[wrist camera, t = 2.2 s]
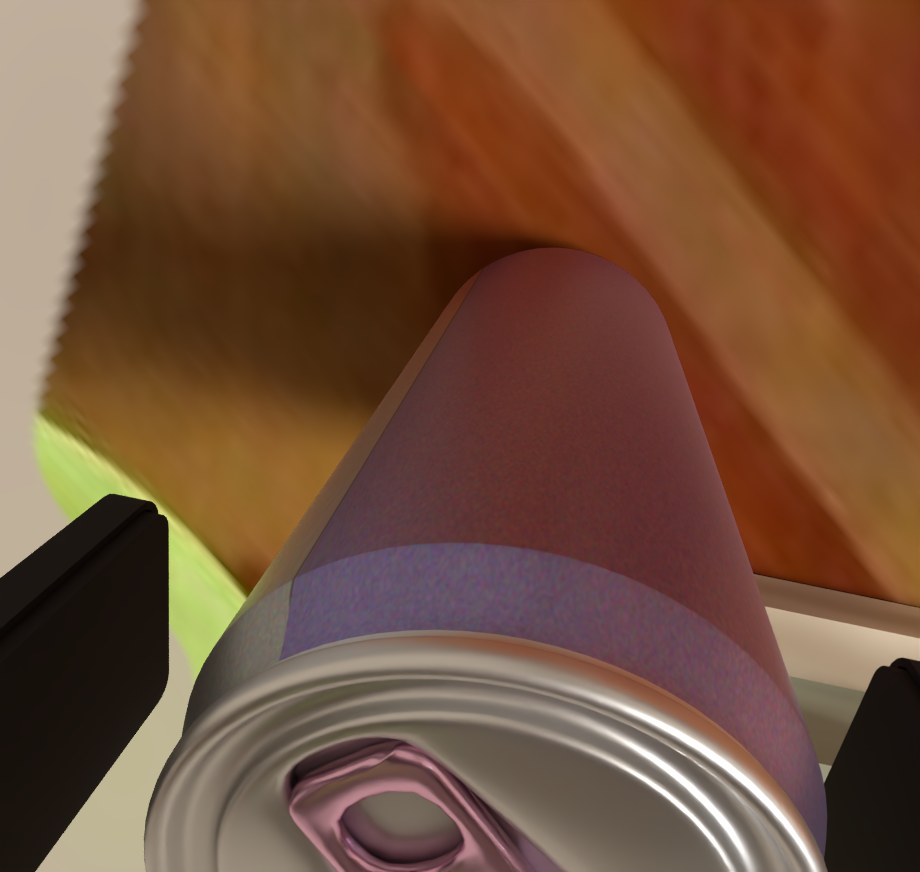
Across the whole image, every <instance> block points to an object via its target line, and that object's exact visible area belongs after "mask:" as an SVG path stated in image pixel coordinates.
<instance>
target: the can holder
mask: <svg viewBox="0 0 920 872" xmlns="http://www.w3.org/2000/svg"><path fill="white" fill-rule="evenodd" d="M754 577H755V580H756V583H757V586H758V588H759V591H760V594H761V597H762V600H763V603H764V606H765V609H766V612H767V614H768V617H769V620H770V623H771V626H772V629H773V632H774V635H775V637H776V640H777V643H778V646H779V649H780V652H781V655H782V658H783V661H784V663H785V666H786V669H787V672H788V675H789V678H790V681H791V684H792V687H793V689H794V692H795V695H796V698H797V701H798V704H799V707H800V710H801V712H802V715H803V718H804V721H805V724H806V727H807V730H808V733H809V736H810V738H811V741H812V744H813V747H814V750H815V753H816V756H817V759H818V763H819V766H820V769H821V773H822V777H823V782H825V780H826V778H827V776H828V773H829V771H830V769H831V767H832V765H833V762H834V760H835V758H836V756H837V754H838V751H839V749H840V747H841V745H842V743H843V740H844V738H845V736H846V734H847V732H848V729H849V727H850V725H851V723H852V721H853V718H854V716H855V714H856V712H857V710H858V707H859V705H860V703H861V701H862V699H863V697H864V694H865V692H866V690H867V688H868V686H869V683H870V681H871V679H872V677H873V675H874V673H875V671H876V670H877V669H878V668H879V667H880V666H890V665H891V663H892V662H893V661H895V660H896V659H897V658H902V657H903V658H908V659H913V660H917V661H920V608H917V607H912V606H908V605H903V604H898V603H893V602H888V601H883V600H878V599H873V598H869V597H864V596H859V595H854V594H849V593H844V592H839V591H834V590H830V589H825V588H820V587H815V586H810V585H805V584H800V583H795V582H791V581H786V580H781V579H776V578H771V577H766V576H761V575H756V574H754Z"/></svg>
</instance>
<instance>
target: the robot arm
mask: <svg viewBox="0 0 920 872" xmlns="http://www.w3.org/2000/svg"><path fill="white" fill-rule="evenodd" d="M168 675H169V527H168V520H167V518H166V517H165V516H164V515H160V514H158V510H157V507H156V505H155V504H154V503H153V502H151V501H146V500H141V499H136V498H131V497H126V496H122V495H117V494H108V495H107V496H105V497H103V498H102V499H101V500H99V501H98V502H97V503H95V504H94V505H93V506H92V507H90V508H89V509H88V510H87V511H85V512H84V513H83V514H81V515H80V516H79V517H78V518H76V519H75V520H74V521H73V522H71V523H70V524H69V525H67V526H66V527H65V528H64V529H63V530H61V531H60V532H59V533H57V534H56V535H55V536H53V537H52V538H51V539H50V540H48V541H47V542H46V543H44V544H43V545H42V546H41V547H39V548H38V549H37V550H36V551H34V552H33V553H32V554H31V555H29V556H28V557H27V558H25V559H24V560H23V561H22V562H20V563H19V564H18V565H16V566H15V567H14V568H13V569H11V570H10V571H9V572H8V573H6V574H5V575H4V576H2V577H1V578H0V872H35V871H36V870H37V868H38V867H39V866H40V864H41V863H42V862H43V860H44V859H45V857H46V856H47V855H48V853H49V852H50V850H51V849H52V848H53V846H54V845H55V844H56V842H57V841H58V840H59V838H60V837H61V835H62V834H63V833H64V831H65V830H66V829H67V827H68V826H69V824H70V823H71V822H72V820H73V819H74V818H75V816H76V815H77V813H78V812H79V810H80V809H81V808H82V807H83V805H84V804H85V802H86V801H87V800H88V798H89V797H90V795H91V794H92V793H93V791H94V790H95V789H96V787H97V786H98V785H99V783H100V782H101V780H102V779H103V778H104V776H105V775H106V773H107V772H108V771H109V770H110V768H111V767H112V765H113V764H114V762H115V761H116V760H117V759H118V757H119V756H120V754H121V753H122V752H123V750H124V749H125V747H126V746H127V745H128V743H129V742H130V740H131V739H132V738H133V737H134V735H135V734H136V732H137V731H138V730H139V728H140V727H141V726H142V724H143V723H144V721H145V720H146V719H147V717H148V716H149V715H150V713H151V712H152V710H153V709H154V708H155V706H156V705H157V704H158V702H159V700H160V699H161V697H162V695H163V693H164V691H165V688H166V685H167V681H168ZM824 788H825V793H826V805H827V832H826V845H825V855H824V862H825V865H826V868H827V871H828V872H920V661H917V660H913V659H908V658H903V657H902V658H897V659H896V660H895V661H893V662H892V663H891V665H890V666H880V667H879V668H878V669H877V670H876V671H875V673H874V675H873V677H872V679H871V681H870V683H869V686H868V688H867V690H866V692H865V694H864V697H863V699H862V701H861V703H860V705H859V707H858V710H857V712H856V714H855V716H854V718H853V721H852V723H851V725H850V727H849V729H848V732H847V734H846V736H845V738H844V740H843V743H842V745H841V747H840V749H839V751H838V754H837V756H836V758H835V760H834V762H833V765H832V767H831V769H830V771H829V773H828V776H827V778H826V780H825V782H824Z"/></svg>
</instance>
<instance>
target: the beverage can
mask: <svg viewBox="0 0 920 872" xmlns="http://www.w3.org/2000/svg"><path fill="white" fill-rule="evenodd" d="M826 832H827V805H826V793H825V788H824V782H823V777H822V773H821V769H820V766H819V763H818V759H817V756H816V753H815V750H814V747H813V744H812V741H811V738H810V736H809V733H808V730H807V727H806V724H805V721H804V718H803V715H802V712H801V710H800V707H799V704H798V701H797V698H796V695H795V692H794V689H793V687H792V684H791V681H790V678H789V675H788V672H787V669H786V666H785V663H784V661H783V658H782V655H781V652H780V649H779V646H778V643H777V640H776V637H775V635H774V632H773V629H772V626H771V623H770V620H769V617H768V614H767V612H766V609H765V606H764V603H763V600H762V597H761V594H760V591H759V588H758V586H757V583H756V580H755V577H754V574H753V571H752V568H751V565H750V563H749V560H748V557H747V554H746V551H745V548H744V545H743V542H742V539H741V537H740V534H739V531H738V528H737V525H736V522H735V519H734V516H733V513H732V511H731V508H730V505H729V502H728V499H727V496H726V493H725V490H724V488H723V485H722V482H721V479H720V476H719V473H718V470H717V467H716V464H715V462H714V459H713V456H712V453H711V450H710V447H709V444H708V441H707V438H706V436H705V433H704V430H703V427H702V424H701V421H700V418H699V415H698V413H697V410H696V407H695V404H694V401H693V398H692V395H691V392H690V389H689V387H688V384H687V381H686V378H685V375H684V372H683V369H682V366H681V363H680V361H679V358H678V355H677V352H676V349H675V346H674V343H673V340H672V338H671V335H670V332H669V329H668V326H667V324H666V321H665V319H664V316H663V314H662V312H661V310H660V309H659V307H658V305H657V304H656V302H655V300H654V299H653V298H652V296H651V295H650V294H649V292H648V291H647V290H646V289H645V288H644V287H643V286H642V285H641V284H640V283H639V282H638V281H637V280H636V279H635V278H634V277H633V276H632V275H630V274H629V273H628V272H626V271H625V270H624V269H622V268H621V267H619V266H617V265H616V264H614V263H612V262H610V261H608V260H606V259H604V258H602V257H599V256H596V255H594V254H591V253H587V252H584V251H580V250H574V249H568V248H537V249H530V250H525V251H521V252H517V253H514V254H511V255H508V256H506V257H503V258H501V259H499V260H497V261H494V262H493V263H491V264H489V265H487V266H486V267H484V268H483V269H481V270H480V271H478V272H477V273H476V274H475V275H473V276H472V277H471V278H470V279H469V280H468V281H467V282H466V283H464V284H463V286H462V287H461V288H460V289H459V290H458V291H457V292H456V294H455V295H454V296H453V298H452V299H451V300H450V302H449V303H448V305H447V306H446V308H445V309H444V311H443V312H442V314H441V315H440V316H439V318H438V319H437V321H436V322H435V324H434V325H433V327H432V328H431V330H430V331H429V333H428V334H427V336H426V337H425V338H424V340H423V341H422V343H421V344H420V346H419V347H418V349H417V350H416V352H415V353H414V355H413V356H412V358H411V359H410V360H409V362H408V363H407V365H406V366H405V368H404V369H403V371H402V372H401V374H400V375H399V377H398V378H397V380H396V381H395V382H394V384H393V385H392V387H391V388H390V390H389V391H388V393H387V394H386V396H385V397H384V399H383V400H382V402H381V403H380V404H379V406H378V407H377V409H376V410H375V412H374V413H373V415H372V416H371V418H370V419H369V421H368V422H367V424H366V425H365V426H364V428H363V429H362V431H361V432H360V434H359V435H358V437H357V438H356V440H355V441H354V443H353V444H352V446H351V447H350V448H349V450H348V451H347V453H346V454H345V456H344V457H343V459H342V460H341V462H340V463H339V465H338V466H337V468H336V469H335V470H334V472H333V473H332V475H331V476H330V478H329V479H328V481H327V482H326V484H325V485H324V487H323V488H322V490H321V491H320V492H319V494H318V495H317V497H316V498H315V500H314V501H313V503H312V504H311V506H310V507H309V509H308V510H307V512H306V513H305V514H304V516H303V517H302V519H301V520H300V522H299V523H298V525H297V526H296V528H295V529H294V531H293V532H292V534H291V535H290V536H289V538H288V539H287V541H286V542H285V544H284V545H283V547H282V548H281V550H280V551H279V553H278V554H277V556H276V557H275V558H274V560H273V561H272V563H271V564H270V566H269V567H268V569H267V570H266V572H265V573H264V575H263V576H262V577H261V579H260V580H259V582H258V583H257V585H256V586H255V588H254V589H253V591H252V592H251V594H250V595H249V597H248V598H247V599H246V601H245V602H244V604H243V605H242V607H241V608H240V610H239V611H238V613H237V614H236V616H235V617H234V619H233V620H232V621H231V623H230V624H229V626H228V627H227V629H226V630H225V632H224V633H223V635H222V636H221V638H220V639H219V641H218V642H217V643H216V645H215V646H214V648H213V650H212V651H211V653H210V654H209V656H208V658H207V659H206V661H205V663H204V664H203V666H202V668H201V671H200V673H199V675H198V677H197V679H196V681H195V684H194V687H193V690H192V693H191V696H190V699H189V703H188V708H187V712H186V716H185V721H184V726H183V732H182V737H181V739H180V740H179V742H178V744H177V745H176V747H175V748H174V750H173V752H172V753H171V755H170V756H169V758H168V759H167V761H166V763H165V765H164V768H163V769H162V771H161V773H160V776H159V778H158V780H157V782H156V785H155V788H154V791H153V794H152V797H151V800H150V803H149V808H148V812H147V817H146V823H145V833H144V861H145V869H146V872H828V871H827V868H826V865H825V862H824V855H825V845H826Z"/></svg>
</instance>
